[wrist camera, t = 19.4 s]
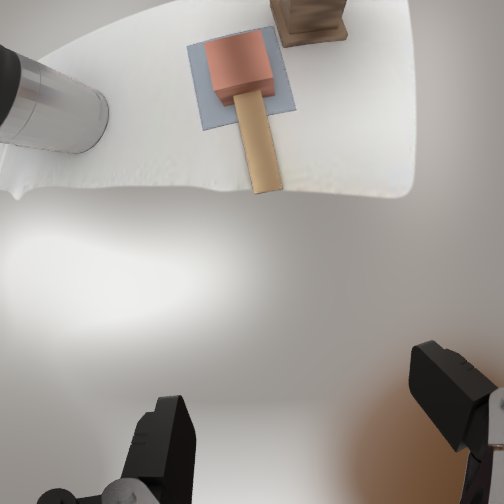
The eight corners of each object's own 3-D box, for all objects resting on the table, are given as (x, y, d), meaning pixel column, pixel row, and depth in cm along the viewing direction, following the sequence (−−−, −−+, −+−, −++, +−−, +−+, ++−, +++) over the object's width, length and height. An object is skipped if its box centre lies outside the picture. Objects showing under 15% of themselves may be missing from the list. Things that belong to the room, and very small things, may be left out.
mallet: (243, 197, 36) (236, 196, 31) (215, 63, 34) (203, 43, 28) (295, 186, 36) (298, 183, 30) (263, 52, 33) (260, 29, 27)
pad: (203, 130, 36) (202, 130, 36) (187, 47, 34) (186, 46, 34) (296, 109, 34) (296, 109, 34) (272, 26, 33) (272, 25, 32)
